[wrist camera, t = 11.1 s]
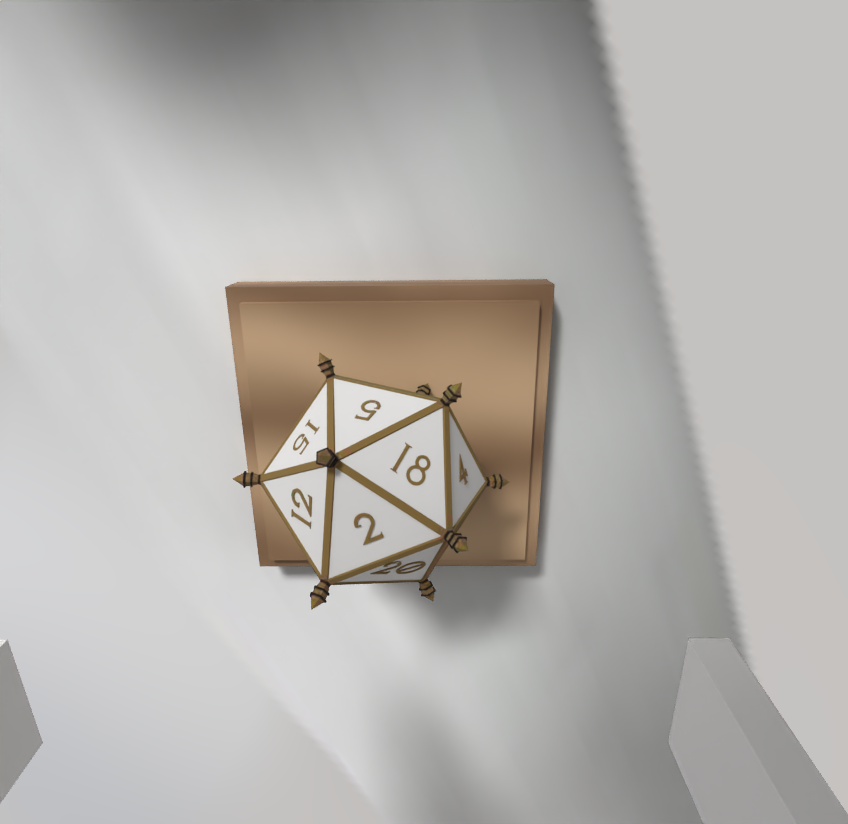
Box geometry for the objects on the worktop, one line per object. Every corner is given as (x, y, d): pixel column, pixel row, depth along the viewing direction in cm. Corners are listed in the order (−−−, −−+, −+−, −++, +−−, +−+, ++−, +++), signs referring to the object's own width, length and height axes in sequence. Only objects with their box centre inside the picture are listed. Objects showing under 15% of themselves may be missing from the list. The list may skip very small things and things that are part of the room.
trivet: (237, 282, 24) (221, 288, 22) (546, 279, 24) (556, 285, 22) (268, 547, 29) (257, 571, 27) (529, 546, 28) (537, 570, 27)
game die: (430, 397, 28) (601, 485, 20) (330, 547, 27) (470, 693, 20) (293, 286, 22) (466, 354, 14) (161, 475, 21) (270, 649, 14)
